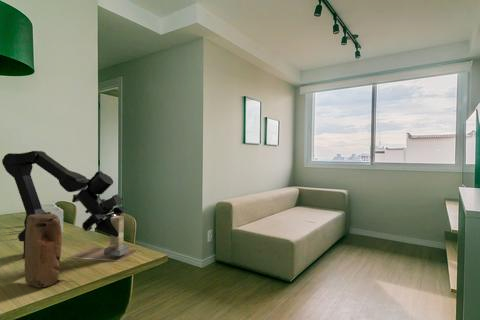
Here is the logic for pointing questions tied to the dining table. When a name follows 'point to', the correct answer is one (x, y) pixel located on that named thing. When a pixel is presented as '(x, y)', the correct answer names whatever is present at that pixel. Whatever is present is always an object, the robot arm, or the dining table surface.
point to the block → (42, 249)
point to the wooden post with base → (117, 238)
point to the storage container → (54, 212)
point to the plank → (101, 255)
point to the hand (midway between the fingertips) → (120, 234)
